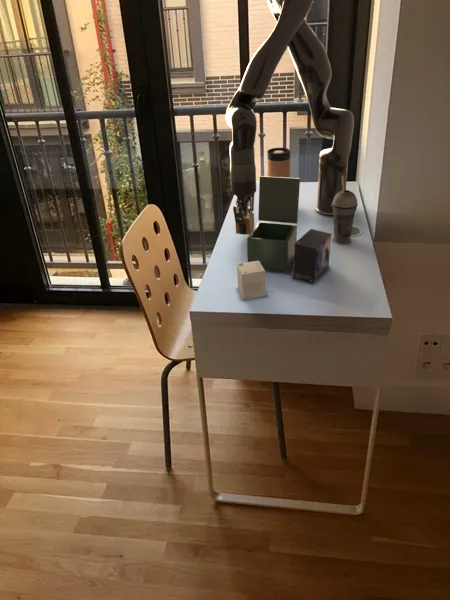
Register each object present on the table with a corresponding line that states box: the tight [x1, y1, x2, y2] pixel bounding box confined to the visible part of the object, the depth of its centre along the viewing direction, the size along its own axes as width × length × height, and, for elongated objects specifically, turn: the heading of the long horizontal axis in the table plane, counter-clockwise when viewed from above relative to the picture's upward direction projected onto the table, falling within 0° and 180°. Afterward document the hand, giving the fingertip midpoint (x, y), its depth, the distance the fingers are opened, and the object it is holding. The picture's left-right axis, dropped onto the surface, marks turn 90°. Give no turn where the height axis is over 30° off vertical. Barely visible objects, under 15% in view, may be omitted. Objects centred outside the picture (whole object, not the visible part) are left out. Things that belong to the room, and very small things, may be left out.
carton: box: [235, 212, 255, 236], centre depth 156 cm, size 5×5×5 cm
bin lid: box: [257, 175, 301, 225], centre depth 141 cm, size 12×11×1 cm
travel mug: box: [266, 147, 291, 178], centre depth 173 cm, size 8×8×20 cm
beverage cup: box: [332, 176, 359, 245], centre depth 148 cm, size 7×7×20 cm
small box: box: [292, 228, 332, 284], centre depth 134 cm, size 11×6×10 cm, turn 148°
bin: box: [246, 221, 298, 274], centre depth 142 cm, size 12×11×9 cm
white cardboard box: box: [236, 261, 267, 301], centre depth 128 cm, size 6×6×7 cm
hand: (245, 230), depth 157 cm, fingers closed on carton, 4 cm apart
